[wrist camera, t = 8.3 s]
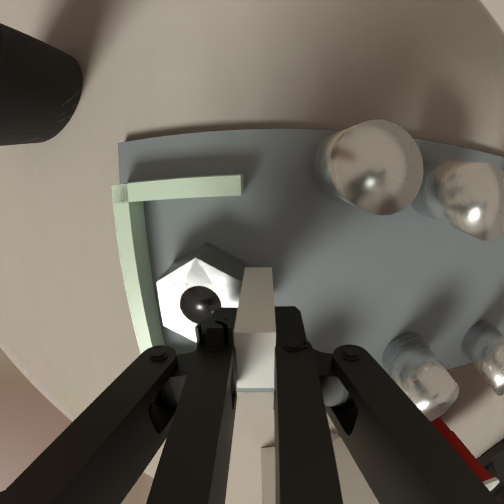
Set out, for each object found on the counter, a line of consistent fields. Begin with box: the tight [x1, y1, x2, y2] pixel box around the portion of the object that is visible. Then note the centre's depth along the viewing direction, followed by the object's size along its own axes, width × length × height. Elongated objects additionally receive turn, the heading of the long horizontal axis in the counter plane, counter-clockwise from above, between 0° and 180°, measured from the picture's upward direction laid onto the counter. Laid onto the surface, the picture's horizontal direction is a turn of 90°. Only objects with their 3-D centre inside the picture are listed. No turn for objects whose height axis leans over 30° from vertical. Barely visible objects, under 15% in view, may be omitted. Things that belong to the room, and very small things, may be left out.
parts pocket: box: [111, 174, 244, 355], centre depth 17 cm, size 13×7×2 cm, turn 2°
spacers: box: [310, 119, 504, 442], centre depth 14 cm, size 18×20×6 cm
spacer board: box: [118, 129, 504, 392], centre depth 17 cm, size 18×32×1 cm, turn 92°
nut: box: [156, 242, 247, 342], centre depth 16 cm, size 5×4×3 cm
